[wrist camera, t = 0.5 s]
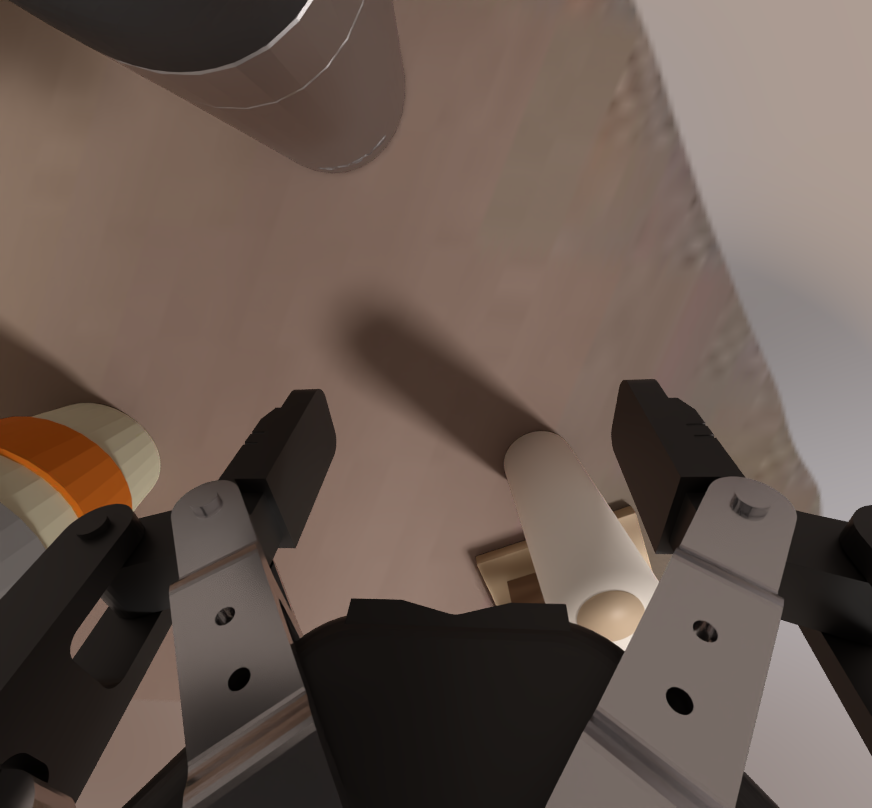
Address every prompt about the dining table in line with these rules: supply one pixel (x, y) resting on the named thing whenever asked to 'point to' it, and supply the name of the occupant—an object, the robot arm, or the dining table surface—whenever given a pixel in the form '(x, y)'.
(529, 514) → the paper towel roll
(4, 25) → the dining table surface
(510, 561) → the open wooden box
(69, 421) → the reusable coffee cup
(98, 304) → the dining table surface
